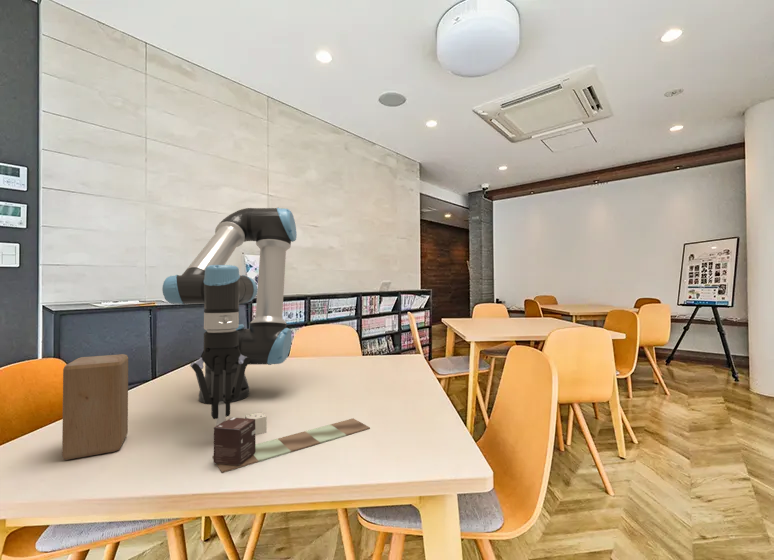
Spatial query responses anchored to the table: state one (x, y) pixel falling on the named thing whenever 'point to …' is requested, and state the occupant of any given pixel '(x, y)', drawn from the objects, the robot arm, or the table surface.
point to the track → (299, 442)
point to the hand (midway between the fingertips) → (220, 431)
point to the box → (234, 441)
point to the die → (258, 422)
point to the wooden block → (94, 405)
